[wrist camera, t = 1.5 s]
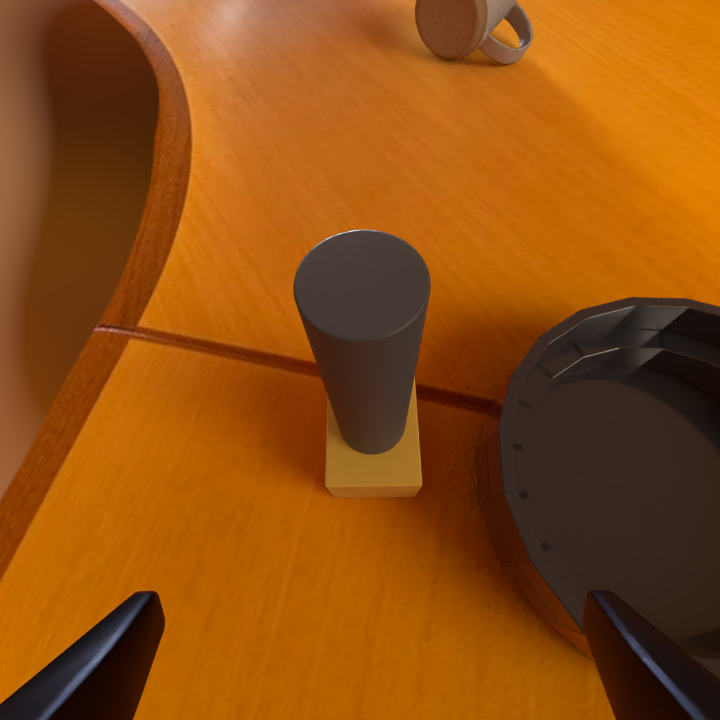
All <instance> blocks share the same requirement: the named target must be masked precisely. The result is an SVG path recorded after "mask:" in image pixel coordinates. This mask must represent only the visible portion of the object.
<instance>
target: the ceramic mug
mask: <svg viewBox="0 0 720 720" xmlns="http://www.w3.org/2000/svg"><path fill="white" fill-rule="evenodd" d="M415 19H416V25H417V29H418V32H419V35H420V37H421V39H422V41H423V42H424V44H425V45H426V47H427V48H428V49H429V50H430V51H431V52H433V53H434V54H435V55H437V56H439V57H442V58H445V59H459V58H462V57H464V56H466V55H468V54H469V53H471V52H472V51H474V50H475V49H476V48H479V49H480V50H481V51H482V52H483V53H484V54H485V55H486V56H487V57H489V58H491V59H493V60H494V61H496V62H498V63H503V64H511V63H514V62H517V61H518V60H519V59H520V58H521V57H522V56H523V54H524V53H525V52H526V50H527V49H528V47H529V46H530V45H531V42H532V40H533V28H532V25H531V22H530V20H529V18H528V16H527V15H526V13H525V11H524V9H523V8H522V7H521V6H520V5H519V4H518V3H517V2H516V0H416V6H415ZM502 19H506V20H507V21H508V22H509V23H510V24H511V26H512V27H513V28H514V30H515V31H516V33H517V35H518V37H519V40H520V43H521V46H520V48H510V47H507V46H505V45H504V44H502V43H501V42H499V41H498V40H496V39H495V38H494V37H493V36H492V35H491V34H490V33H491V32H492V31H493V29H494V28H495V27H496V26H497V25H498V24H499V23H500V22H501V21H502Z"/></svg>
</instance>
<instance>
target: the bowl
mask: <svg viewBox="0 0 720 720" xmlns="http://www.w3.org/2000/svg"><path fill="white" fill-rule="evenodd" d="M477 450H478V451H477V459H478V475H479V491H480V502H481V507H482V510H483V513H484V516H485V518H486V521H487V524H488V526H489V529H490V532H491V534H492V537H493V540H494V543H495V545H496V548H497V551H498V553H499V556H500V559H501V561H502V563H503V564H504V566H505V567H506V568H507V570H508V571H509V573H510V574H511V576H512V577H513V578H514V580H515V581H516V583H517V584H518V585H519V587H520V588H521V590H522V591H523V592H524V594H525V595H526V597H527V598H528V599H529V601H530V602H531V604H532V605H533V606H534V608H535V609H536V611H537V612H538V613H539V615H540V616H541V617H542V618H543V619H544V620H545V621H546V622H547V623H548V624H549V625H551V626H552V627H553V628H554V629H555V630H557V631H558V632H559V633H560V634H561V635H563V636H564V637H565V638H566V639H567V640H569V641H570V642H571V643H572V644H573V645H575V646H576V647H577V648H578V649H579V650H581V651H582V652H583V653H584V654H585V655H587V656H588V657H589V658H590V659H591V660H593V661H594V658H593V655H592V653H591V650H590V647H589V644H588V642H587V639H586V636H585V633H584V630H583V625H582V617H583V612H584V607H585V601H586V596H587V593H588V592H589V591H590V590H608V591H611V592H613V593H614V594H616V595H617V596H618V597H619V598H621V599H622V600H623V601H624V602H625V603H627V604H628V605H629V606H630V607H632V608H633V609H634V610H635V611H636V612H638V613H639V614H640V615H641V616H643V617H644V618H645V619H646V620H647V621H649V622H650V623H651V624H652V625H654V626H655V627H656V628H657V629H658V630H660V631H661V632H662V633H663V634H665V635H666V636H667V637H668V638H669V639H671V640H672V641H673V642H674V643H675V644H677V645H678V646H679V647H680V648H682V649H683V650H684V651H685V652H686V653H688V654H689V655H690V656H691V657H693V658H694V659H695V660H696V661H697V662H699V663H700V664H701V665H702V666H704V667H705V668H706V669H707V670H708V671H710V672H711V673H712V674H713V675H715V676H716V677H717V678H718V679H719V680H720V307H719V306H715V305H711V304H707V303H703V302H699V301H695V300H691V299H686V298H647V297H631V298H630V297H629V298H625V299H621V300H617V301H613V302H609V303H605V304H602V305H598V306H594V307H590V308H586V309H582V310H579V311H578V312H576V313H575V314H573V315H571V316H570V317H568V318H567V319H565V320H564V321H562V322H561V323H559V324H558V325H556V326H554V327H553V328H551V329H550V330H548V331H547V332H545V333H544V334H542V335H541V336H540V337H539V338H538V339H537V340H536V342H535V343H534V345H533V346H532V347H531V349H530V350H529V351H528V353H527V354H526V356H525V357H524V358H523V360H522V361H521V362H520V364H519V365H518V367H517V368H516V369H515V371H514V372H513V374H512V375H511V376H510V378H509V379H508V380H507V382H506V383H505V385H504V386H503V387H502V389H501V390H500V392H499V393H498V394H497V396H496V397H495V398H494V400H493V401H492V403H491V404H490V406H489V408H488V412H487V416H486V419H485V423H484V427H483V430H482V434H481V438H480V441H479V445H478V449H477ZM594 662H595V661H594Z"/></svg>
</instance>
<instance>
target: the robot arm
mask: <svg viewBox="0 0 720 720" xmlns="http://www.w3.org/2000/svg"><path fill="white" fill-rule="evenodd" d="M582 625H583V630H584V633H585V636H586V639H587V642H588V644H589V647H590V650H591V653H592V655H593V658H594V661H595V664H596V666H597V669H598V672H599V675H600V677H601V680H602V683H603V686H604V688H605V691H606V694H607V697H608V699H609V702H610V705H611V708H612V710H613V713H614V716H615V718H616V720H720V680H719V679H718V678H717V677H716V676H715V675H713V674H712V673H711V672H710V671H708V670H707V669H706V668H705V667H704V666H702V665H701V664H700V663H699V662H697V661H696V660H695V659H694V658H693V657H691V656H690V655H689V654H688V653H686V652H685V651H684V650H683V649H682V648H680V647H679V646H678V645H677V644H675V643H674V642H673V641H672V640H671V639H669V638H668V637H667V636H666V635H665V634H663V633H662V632H661V631H660V630H658V629H657V628H656V627H655V626H654V625H652V624H651V623H650V622H649V621H647V620H646V619H645V618H644V617H643V616H641V615H640V614H639V613H638V612H636V611H635V610H634V609H633V608H632V607H630V606H629V605H628V604H627V603H625V602H624V601H623V600H622V599H621V598H619V597H618V596H617V595H616V594H614V593H613V592H611V591H608V590H590V591H589V592H588V593H587V596H586V601H585V607H584V612H583V617H582ZM164 627H165V617H164V613H163V609H162V606H161V602H160V598H159V595H158V593H156V592H155V591H138V592H136V593H134V594H133V595H131V596H130V597H129V598H128V599H127V600H125V601H124V602H123V603H122V604H121V605H119V606H118V607H117V608H116V609H115V610H113V611H112V612H111V613H110V614H108V615H107V616H106V617H105V618H104V619H102V620H101V621H100V622H99V623H98V624H96V625H95V626H94V627H93V628H92V629H90V630H89V631H88V632H87V633H86V634H84V635H83V636H82V637H81V638H80V639H78V640H77V641H76V642H75V643H74V644H72V645H71V646H70V647H69V648H67V649H66V650H65V651H64V652H63V653H61V654H60V655H59V656H58V657H57V658H55V659H54V660H53V661H52V662H51V663H49V664H48V665H47V666H46V667H45V668H43V669H42V670H41V671H40V672H39V673H37V674H36V675H35V676H34V677H33V678H31V679H30V680H29V681H28V682H26V683H25V684H24V685H23V686H22V687H20V688H19V689H18V690H17V691H16V692H14V693H13V694H12V695H11V696H10V697H8V698H7V699H6V700H5V701H4V702H2V703H1V704H0V720H133V718H134V715H135V712H136V710H137V707H138V704H139V701H140V698H141V696H142V693H143V690H144V687H145V684H146V681H147V678H148V675H149V672H150V669H151V666H152V663H153V661H154V658H155V655H156V652H157V649H158V646H159V643H160V640H161V637H162V634H163V631H164Z"/></svg>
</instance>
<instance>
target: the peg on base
mask: <svg viewBox="0 0 720 720" xmlns="http://www.w3.org/2000/svg"><path fill="white" fill-rule="evenodd" d="M430 288H431V284H430V275H429V271H428V268H427V266H426V264H425V262H424V260H423V258H422V257H421V256H420V254H419V253H418V252H417V251H416V250H415V249H414V248H413V247H412V246H411V245H410V244H408V243H407V242H406V241H404V240H402V239H401V238H399V237H396V236H394V235H392V234H389V233H386V232H381V231H375V230H353V231H347V232H343V233H340V234H336V235H334V236H332V237H329V238H327V239H326V240H324V241H322V242H320V243H319V244H318V245H316V246H315V247H314V248H313V249H312V250H310V251H309V253H308V254H307V255H306V256H305V257H304V259H303V260H302V262H301V263H300V265H299V267H298V269H297V272H296V275H295V279H294V298H295V302H296V305H297V308H298V311H299V314H300V317H301V319H302V322H303V325H304V328H305V331H306V334H307V337H308V340H309V343H310V346H311V349H312V351H313V354H314V357H315V360H316V363H317V366H318V369H319V372H320V375H321V378H322V381H323V383H324V386H325V389H326V392H327V395H328V397H327V428H326V460H325V487H326V488H327V490H328V491H329V492H330V493H331V494H332V495H333V497H334V498H387V497H416V495H417V493H418V492H419V490H420V488H421V486H422V470H421V457H420V443H419V429H418V415H417V401H416V387H415V371H416V366H417V360H418V355H419V350H420V344H421V339H422V333H423V328H424V322H425V317H426V311H427V306H428V300H429V295H430Z"/></svg>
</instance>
